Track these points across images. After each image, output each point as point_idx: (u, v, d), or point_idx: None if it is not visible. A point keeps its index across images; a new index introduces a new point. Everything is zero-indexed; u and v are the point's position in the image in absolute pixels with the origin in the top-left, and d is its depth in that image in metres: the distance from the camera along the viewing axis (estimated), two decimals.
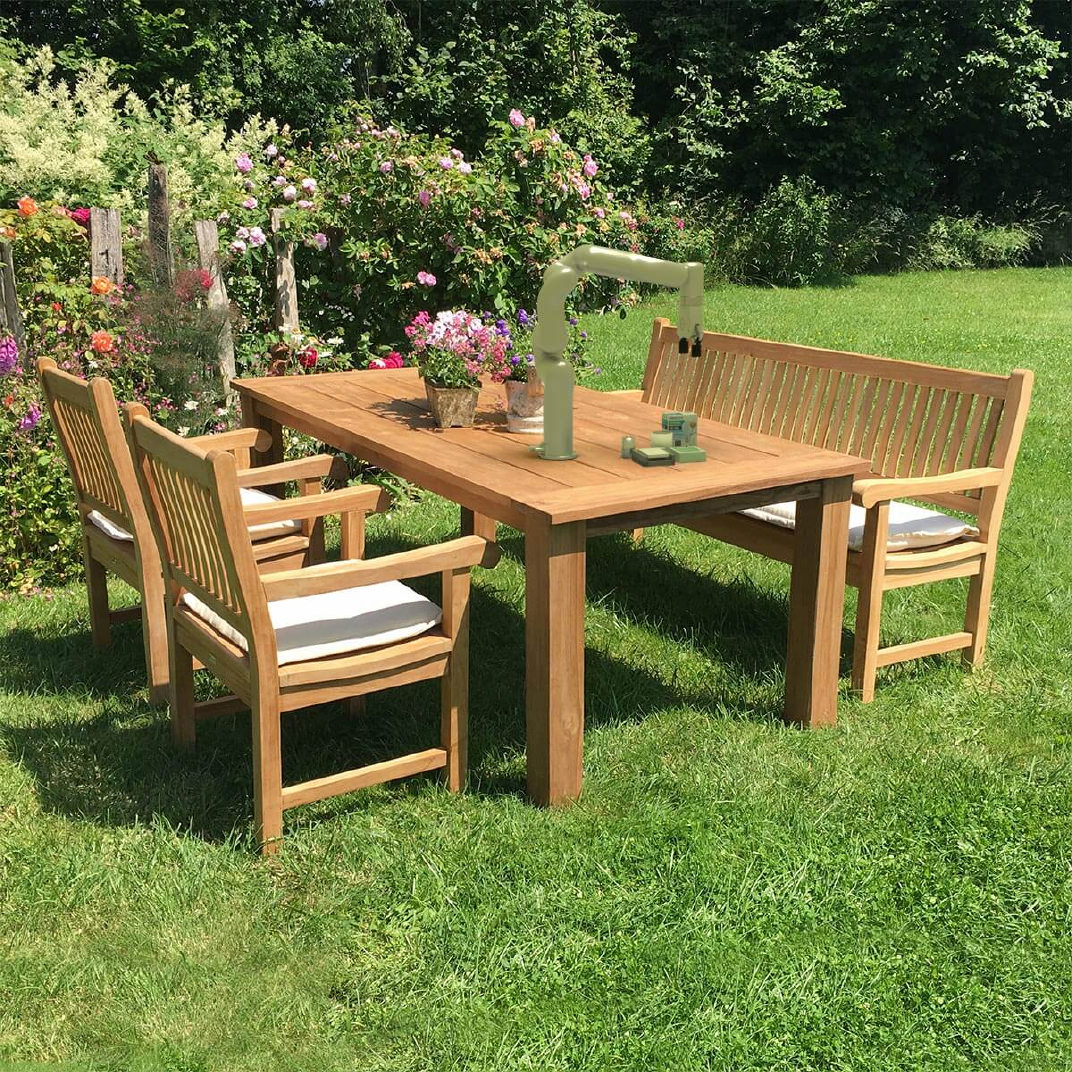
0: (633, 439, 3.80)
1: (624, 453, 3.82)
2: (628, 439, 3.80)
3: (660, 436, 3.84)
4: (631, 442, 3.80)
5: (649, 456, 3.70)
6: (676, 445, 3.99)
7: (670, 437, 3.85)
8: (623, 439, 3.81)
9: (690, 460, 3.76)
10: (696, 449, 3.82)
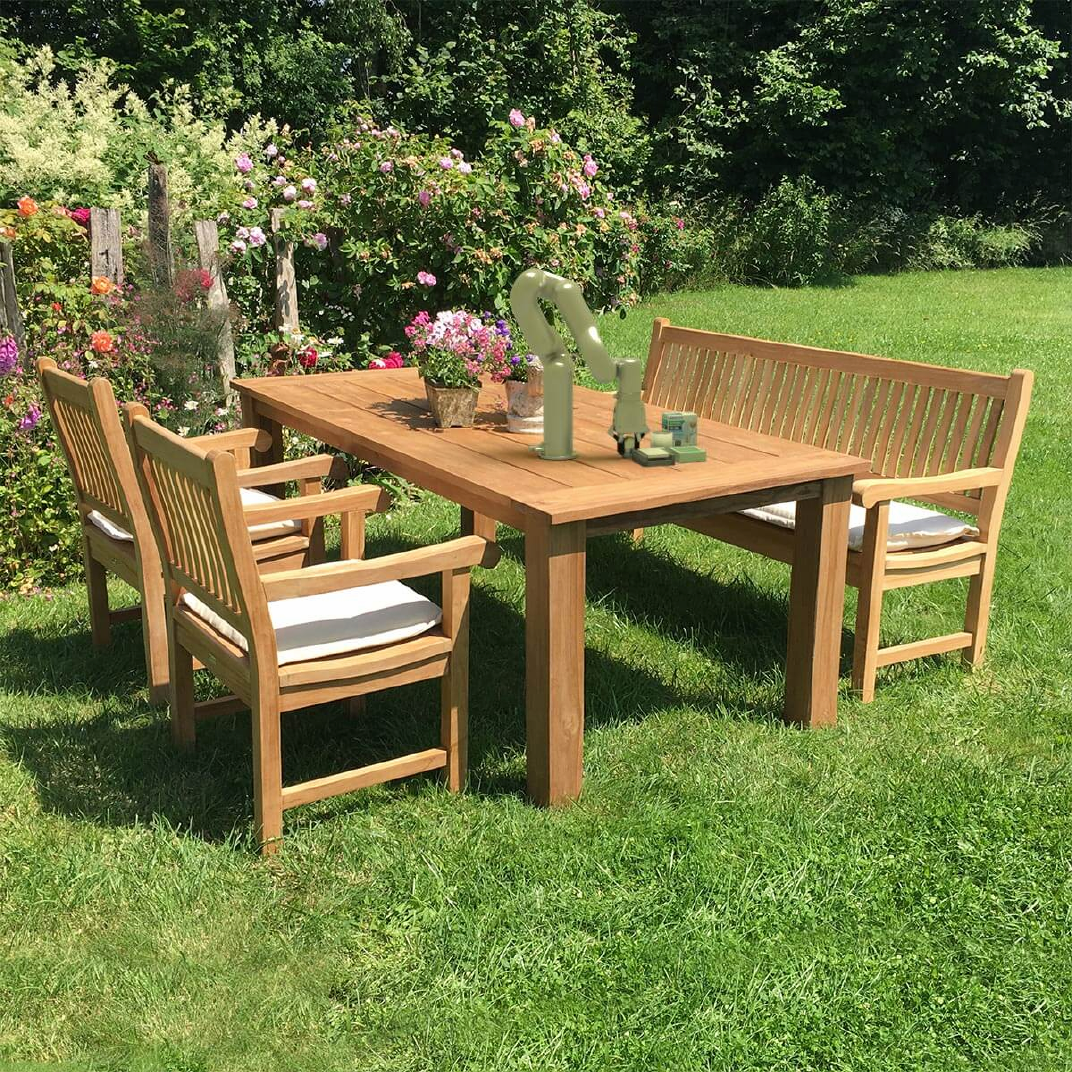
0: (633, 439, 3.80)
1: (624, 453, 3.82)
2: (628, 439, 3.80)
3: (660, 436, 3.84)
4: (631, 442, 3.80)
5: (649, 456, 3.70)
6: (676, 445, 3.99)
7: (670, 437, 3.85)
8: (623, 439, 3.81)
9: (690, 460, 3.76)
10: (696, 449, 3.82)
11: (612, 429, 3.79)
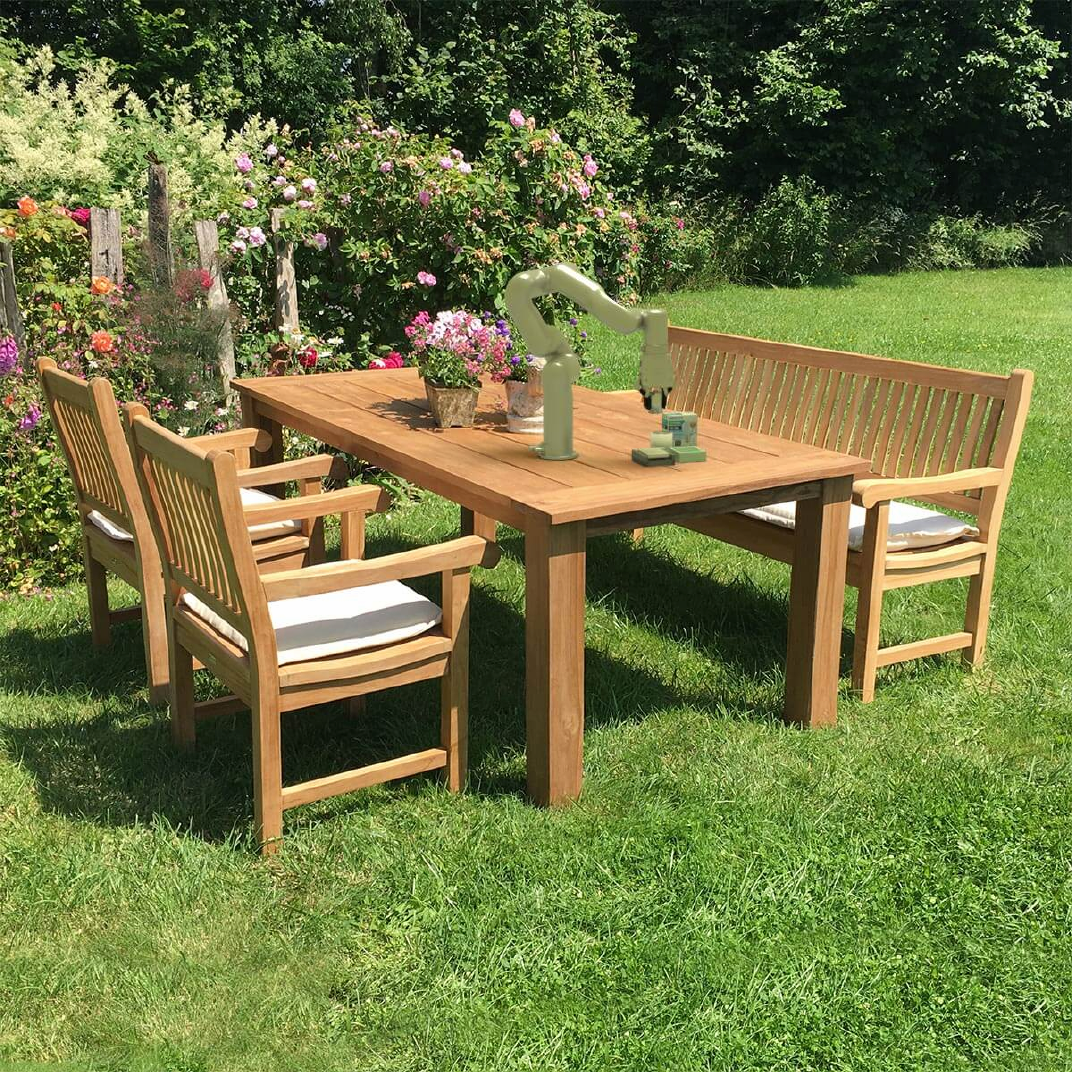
0: (660, 393, 3.69)
1: (651, 408, 3.70)
2: (655, 393, 3.68)
3: (660, 436, 3.84)
4: (658, 396, 3.69)
5: (649, 456, 3.70)
6: (676, 445, 3.99)
7: (670, 437, 3.85)
8: (650, 393, 3.69)
9: (690, 460, 3.76)
10: (696, 449, 3.82)
11: (638, 383, 3.68)
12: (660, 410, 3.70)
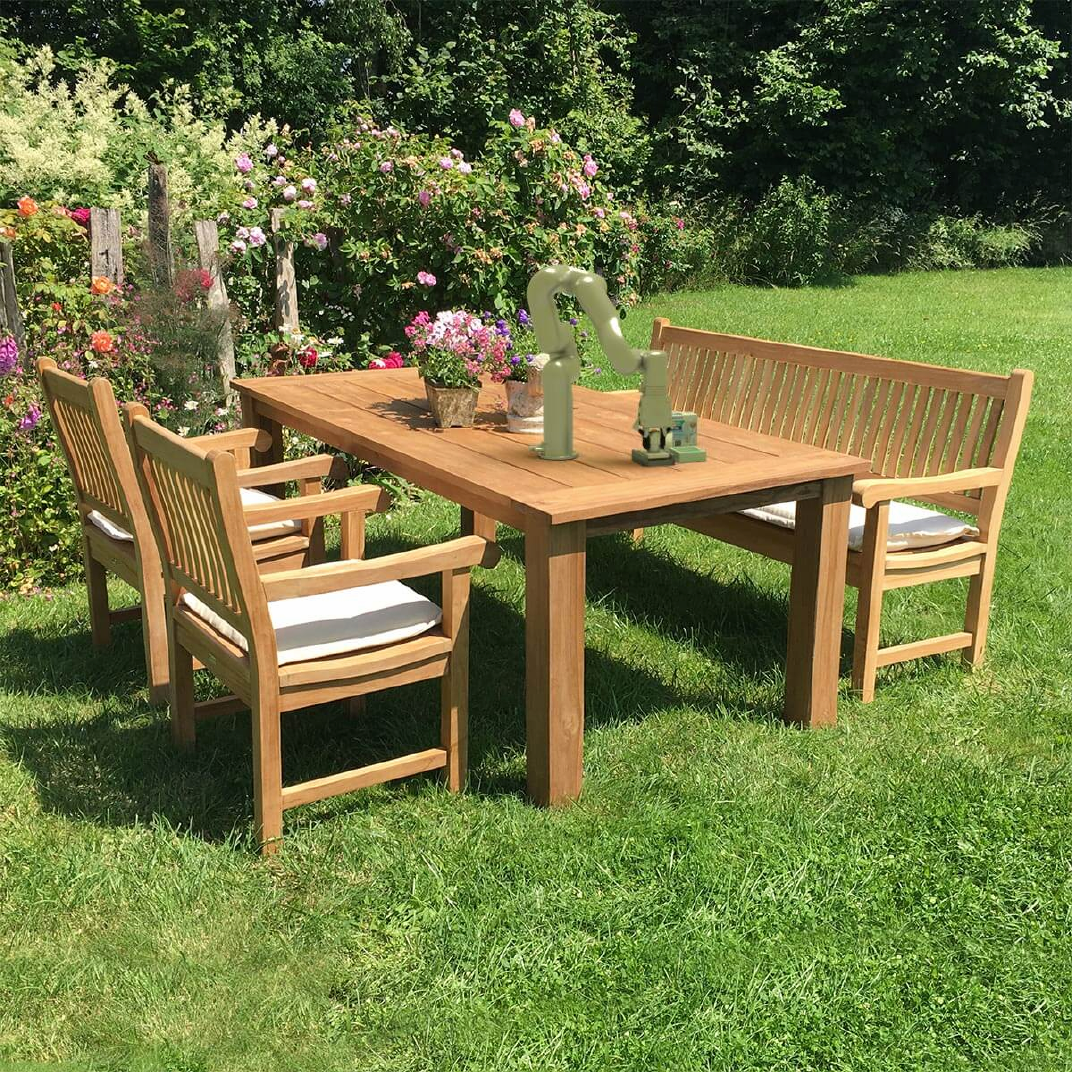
0: (659, 433, 3.72)
1: (650, 447, 3.73)
2: (654, 433, 3.72)
3: None
4: (657, 436, 3.72)
5: (649, 456, 3.70)
6: (676, 445, 3.99)
7: (670, 437, 3.85)
8: (649, 433, 3.73)
9: (690, 460, 3.76)
10: (696, 449, 3.82)
11: (637, 423, 3.71)
12: (659, 449, 3.74)
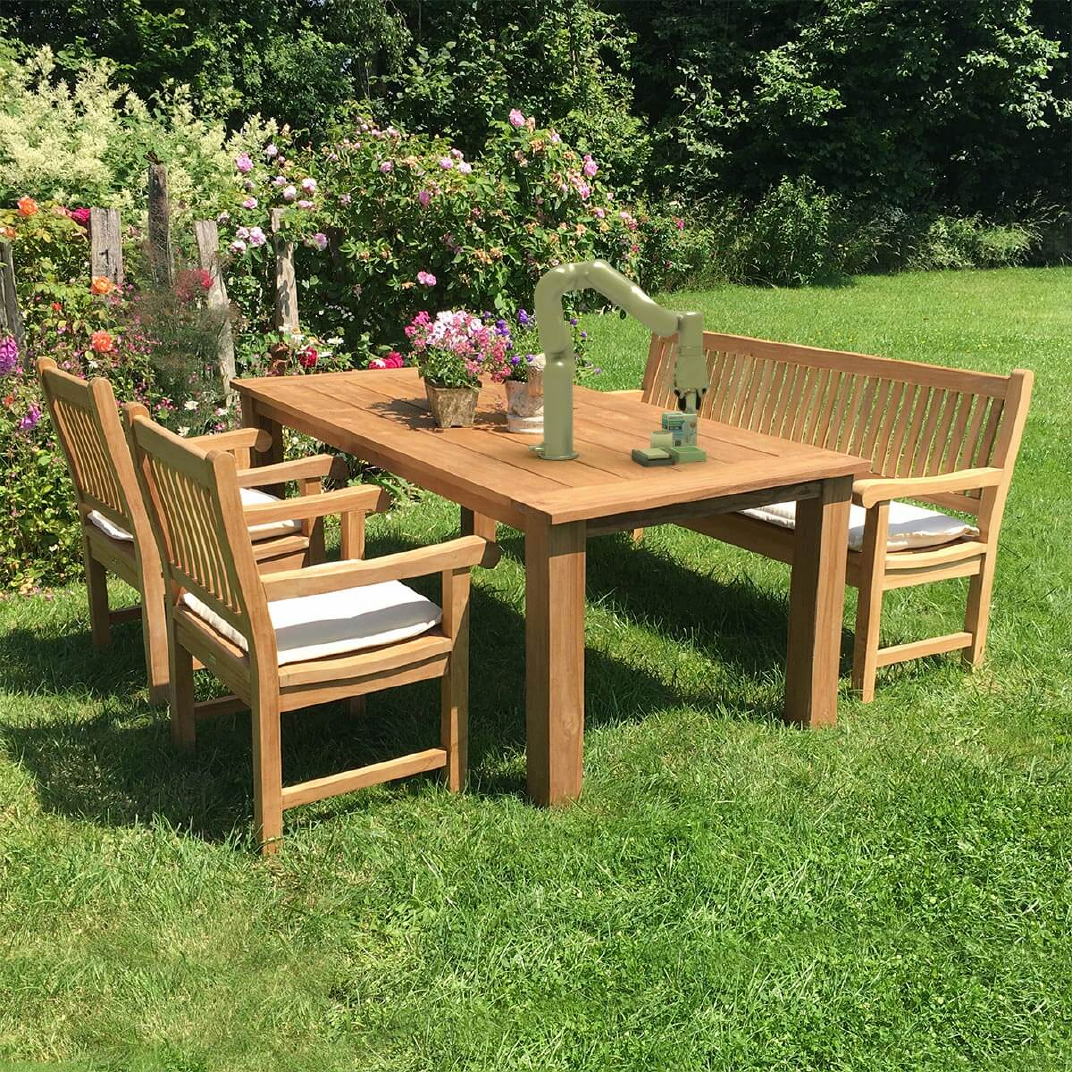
0: (695, 394, 3.73)
1: (685, 408, 3.74)
2: (690, 393, 3.73)
3: (660, 436, 3.84)
4: (693, 397, 3.73)
5: (649, 457, 3.70)
6: (676, 445, 3.99)
7: (670, 437, 3.85)
8: (684, 394, 3.74)
9: (690, 460, 3.76)
10: (696, 449, 3.82)
11: (673, 384, 3.72)
12: (694, 410, 3.75)
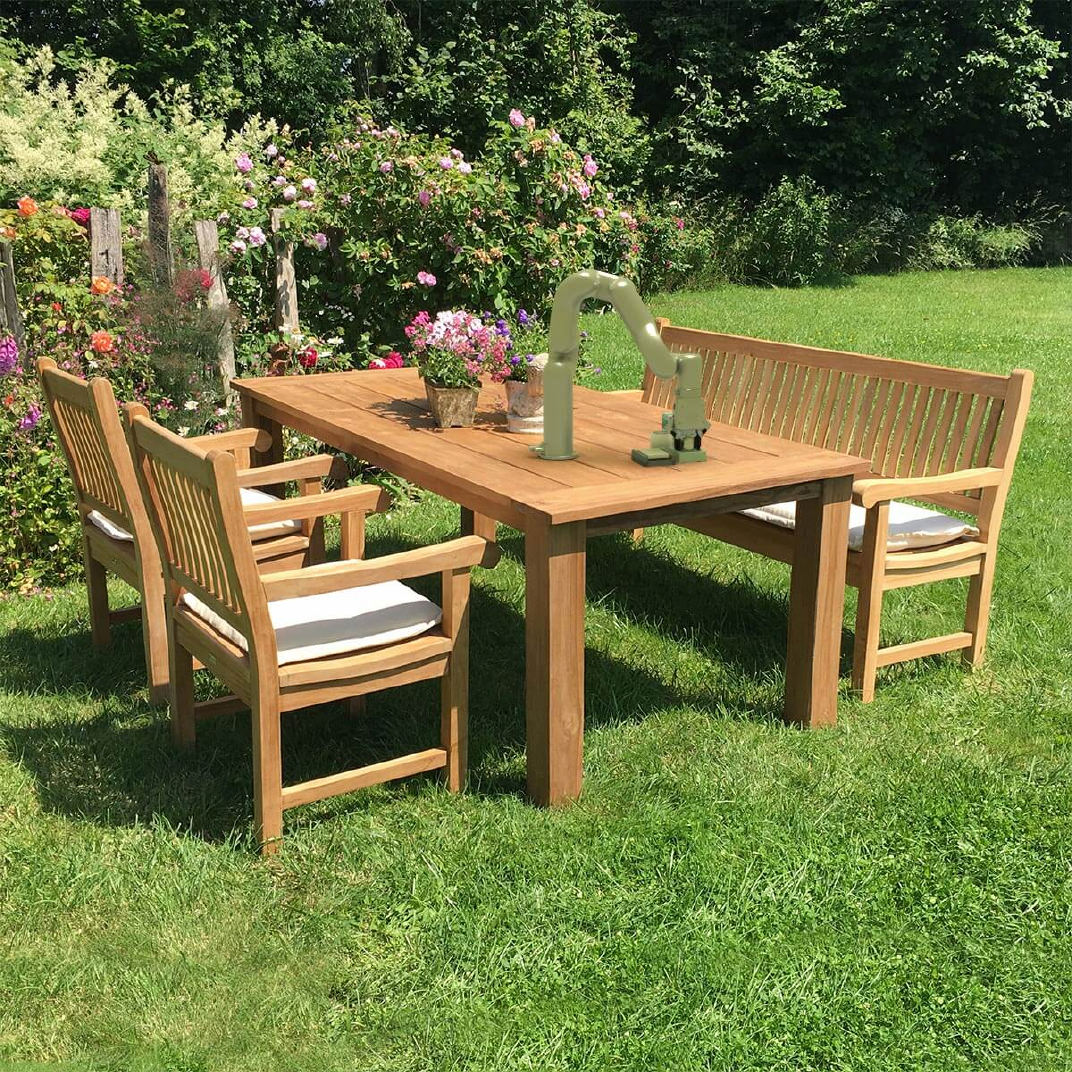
0: (692, 439, 3.77)
1: None
2: (687, 439, 3.77)
3: (660, 436, 3.84)
4: (690, 442, 3.77)
5: (649, 457, 3.70)
6: None
7: (670, 437, 3.85)
8: (682, 439, 3.77)
9: (690, 460, 3.76)
10: (696, 449, 3.82)
11: (671, 424, 3.75)
12: None
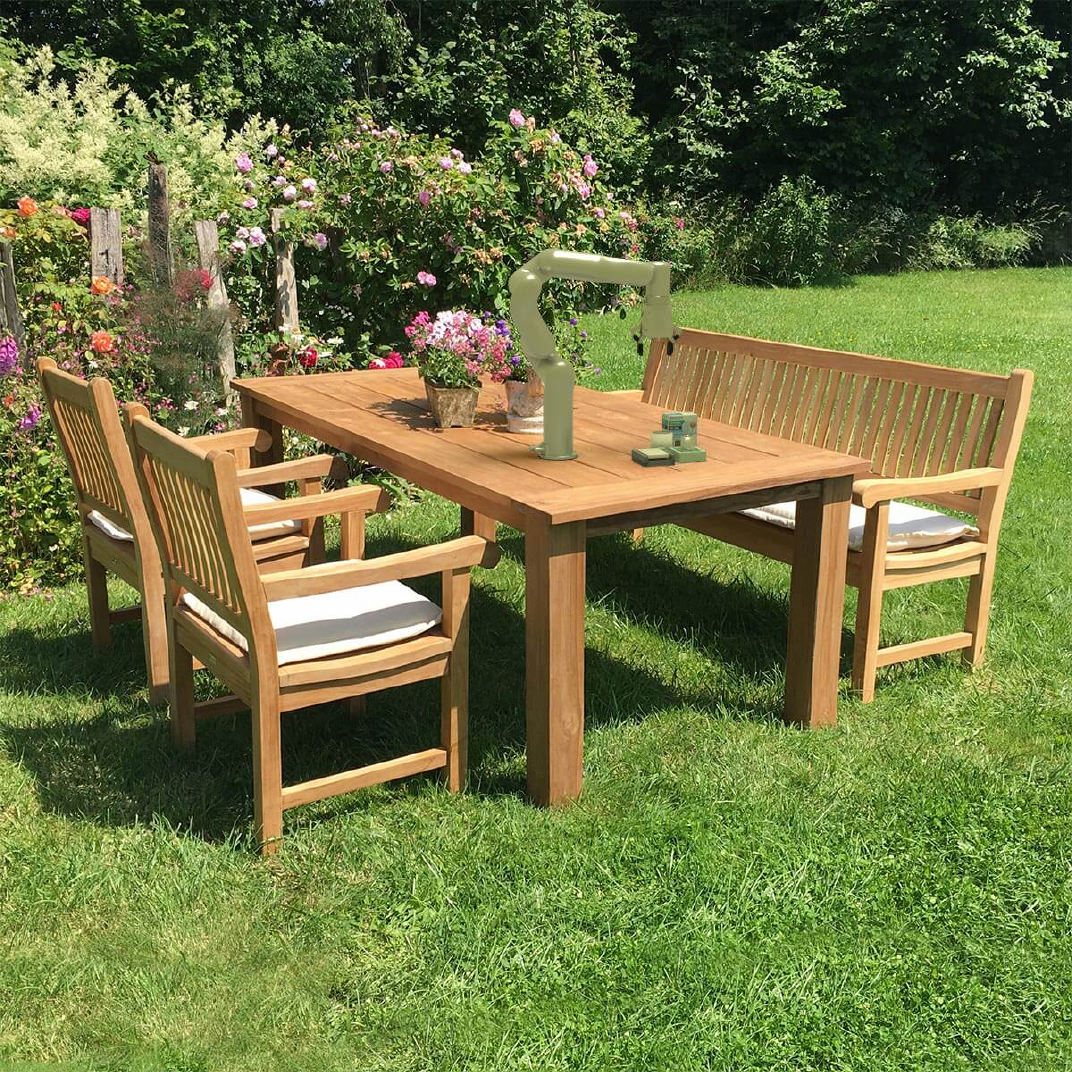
0: (692, 439, 3.77)
1: None
2: (687, 439, 3.77)
3: (660, 436, 3.84)
4: (690, 442, 3.77)
5: (649, 457, 3.70)
6: (676, 445, 3.99)
7: (670, 437, 3.85)
8: (682, 439, 3.77)
9: (690, 460, 3.76)
10: (696, 449, 3.82)
11: (636, 328, 3.81)
12: None
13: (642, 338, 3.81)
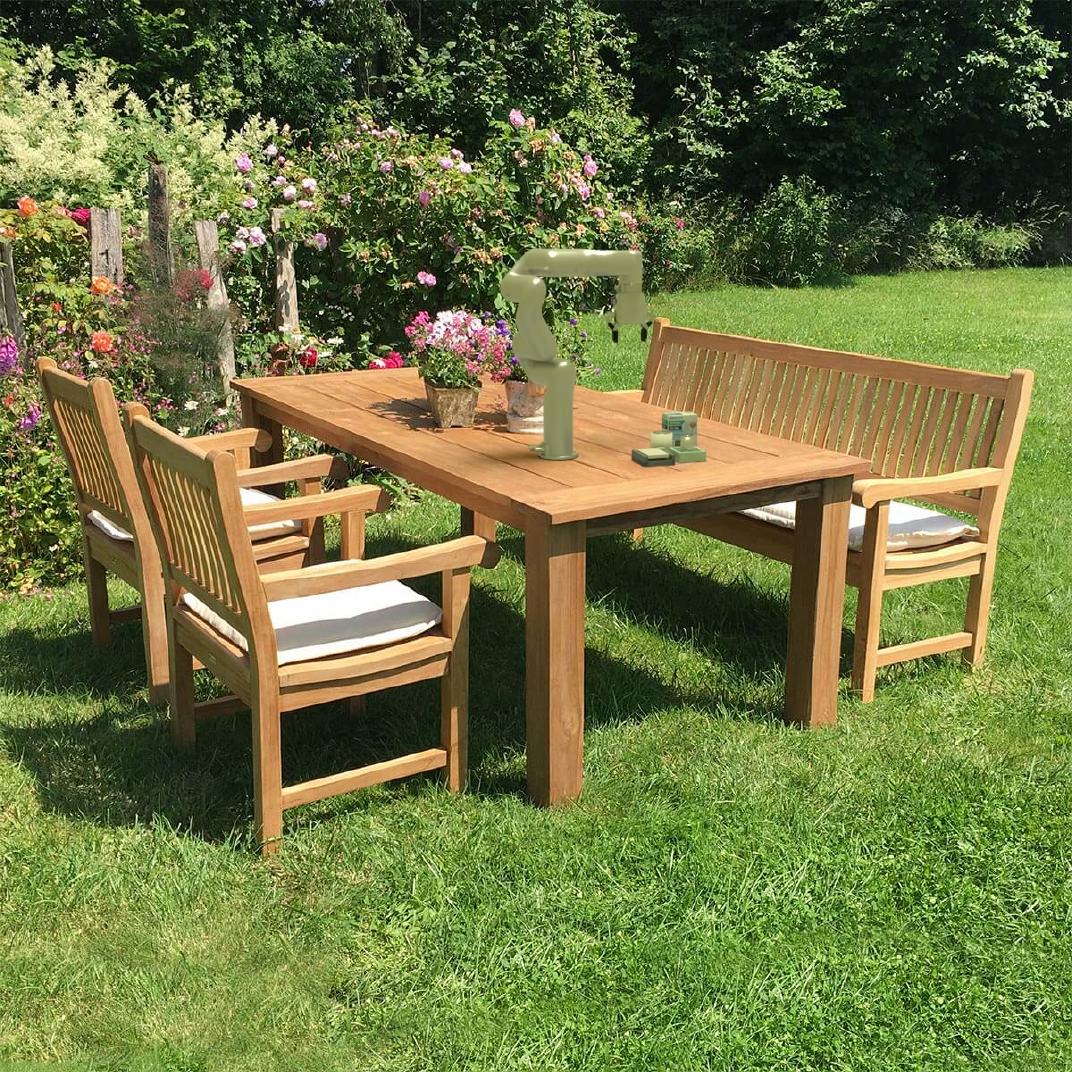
0: (692, 439, 3.77)
1: None
2: (687, 439, 3.77)
3: (660, 436, 3.84)
4: (690, 442, 3.77)
5: (649, 457, 3.70)
6: (676, 445, 3.99)
7: (670, 437, 3.85)
8: (682, 439, 3.77)
9: (690, 460, 3.76)
10: (696, 449, 3.82)
11: (610, 316, 3.90)
12: None
13: (617, 325, 3.91)
